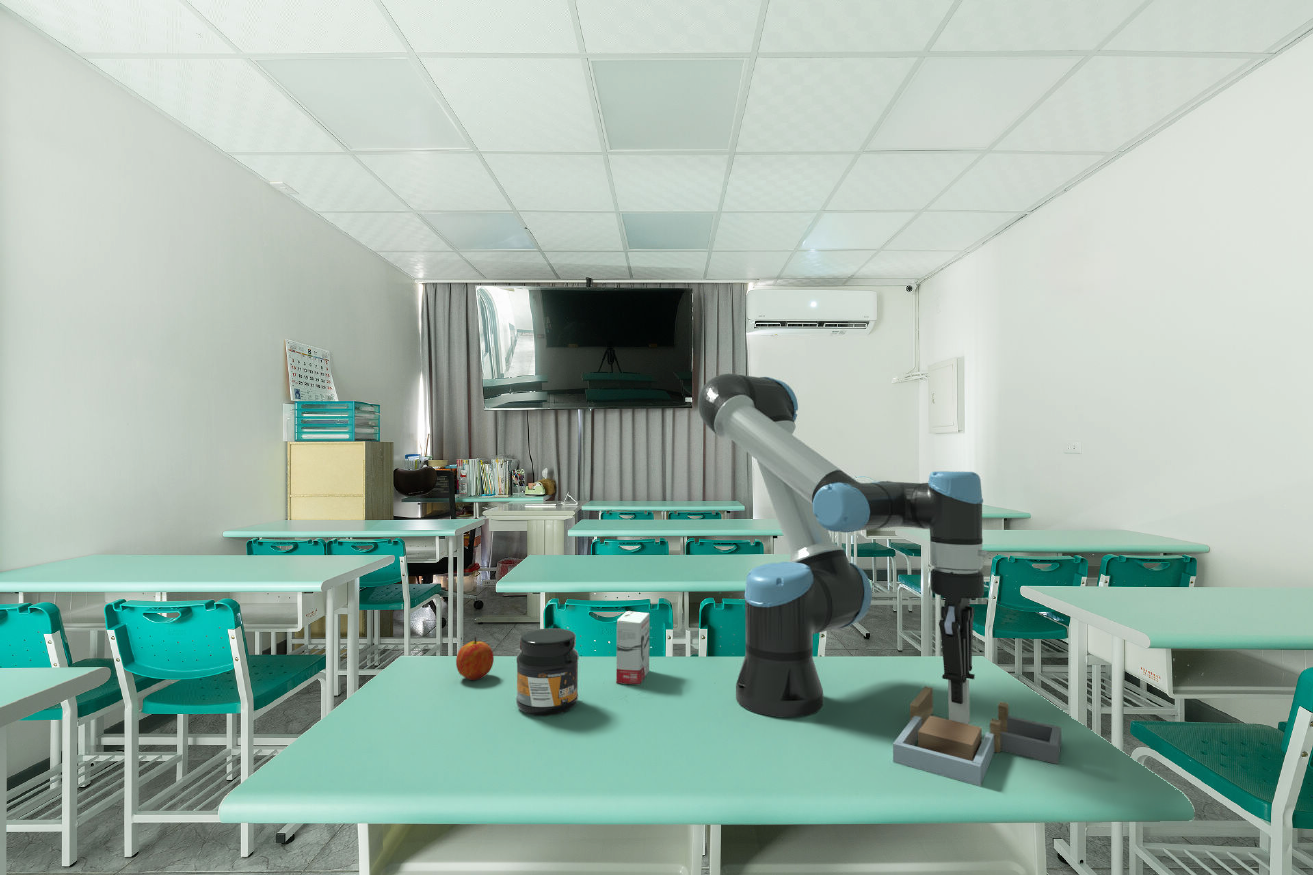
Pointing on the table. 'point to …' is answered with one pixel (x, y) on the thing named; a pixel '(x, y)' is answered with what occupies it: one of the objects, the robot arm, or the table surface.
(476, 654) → the fruit
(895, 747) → the dock
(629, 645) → the ink box
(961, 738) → the block
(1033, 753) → the trap pit
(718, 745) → the table surface
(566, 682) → the supplement container
